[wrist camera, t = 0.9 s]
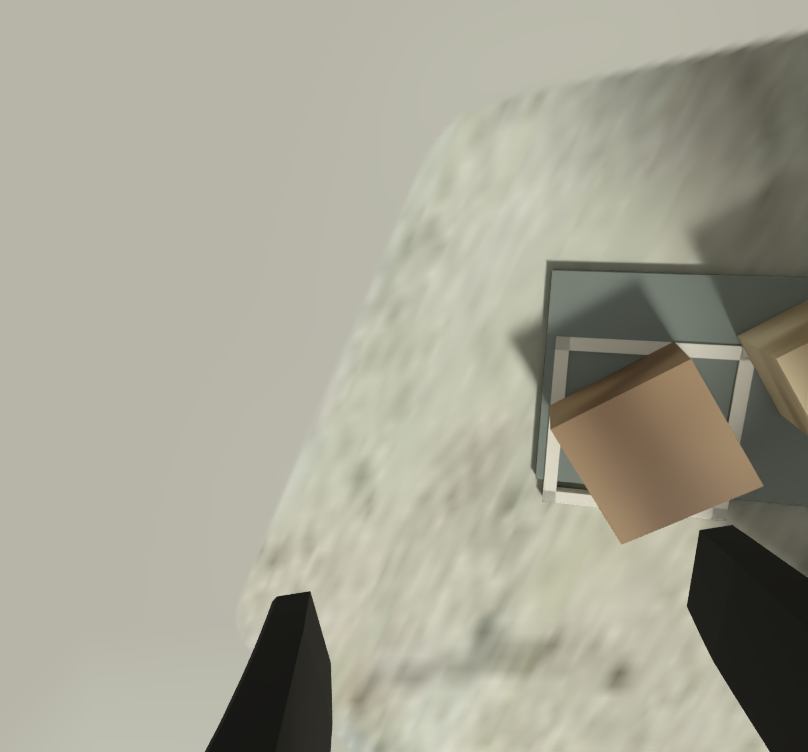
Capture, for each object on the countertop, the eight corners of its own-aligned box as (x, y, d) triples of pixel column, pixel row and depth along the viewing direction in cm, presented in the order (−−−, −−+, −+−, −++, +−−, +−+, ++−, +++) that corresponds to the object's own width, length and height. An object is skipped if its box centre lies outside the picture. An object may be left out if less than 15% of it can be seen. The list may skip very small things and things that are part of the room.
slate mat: (947, 282, 23) (955, 283, 22) (878, 532, 26) (884, 538, 26) (552, 269, 26) (552, 270, 25) (534, 495, 29) (533, 500, 29)
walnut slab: (674, 341, 25) (691, 358, 22) (739, 455, 26) (763, 486, 23) (548, 406, 27) (550, 429, 24) (613, 510, 28) (621, 544, 25)
